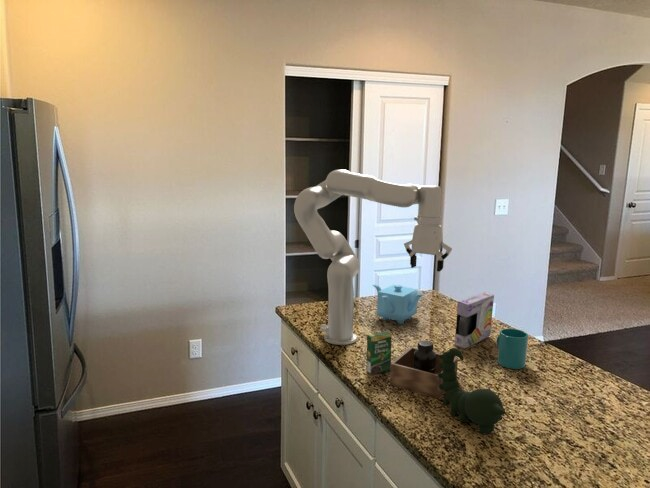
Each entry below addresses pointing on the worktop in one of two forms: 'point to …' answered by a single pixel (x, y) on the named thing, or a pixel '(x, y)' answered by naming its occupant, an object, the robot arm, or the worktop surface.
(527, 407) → the worktop surface
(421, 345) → the supplement bottle
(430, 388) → the walnut crate
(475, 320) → the cake pan box
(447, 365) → the toy figurine
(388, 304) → the teakettle
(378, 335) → the coffee box
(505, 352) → the cup
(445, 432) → the worktop surface
